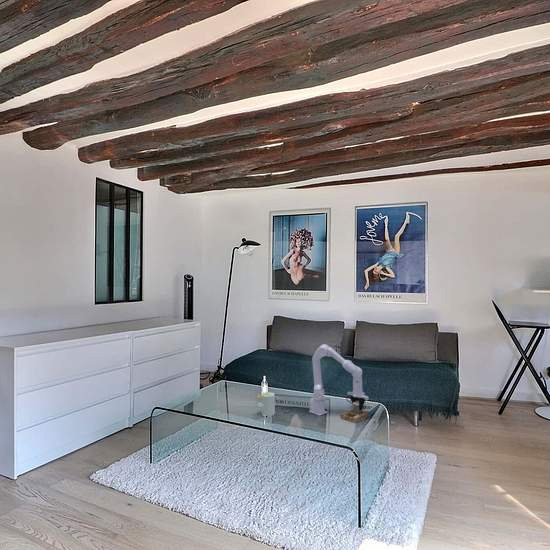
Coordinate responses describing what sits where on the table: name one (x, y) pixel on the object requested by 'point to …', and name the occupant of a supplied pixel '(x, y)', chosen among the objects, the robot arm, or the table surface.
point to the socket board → (354, 416)
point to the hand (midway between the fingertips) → (357, 408)
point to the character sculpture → (267, 403)
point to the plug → (356, 408)
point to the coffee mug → (357, 397)
